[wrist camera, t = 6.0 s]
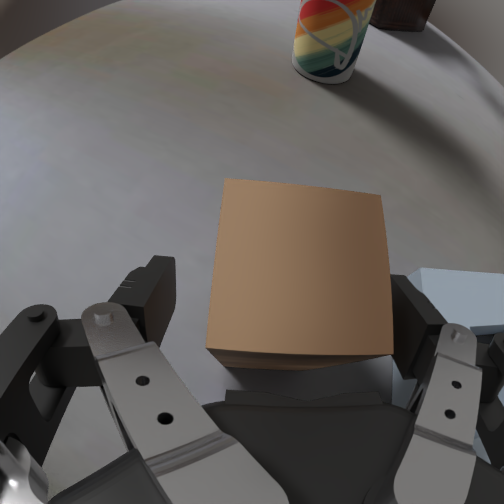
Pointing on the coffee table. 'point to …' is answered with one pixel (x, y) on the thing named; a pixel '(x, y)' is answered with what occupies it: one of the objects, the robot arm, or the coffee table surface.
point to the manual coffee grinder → (401, 14)
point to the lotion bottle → (330, 38)
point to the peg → (299, 278)
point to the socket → (458, 316)
